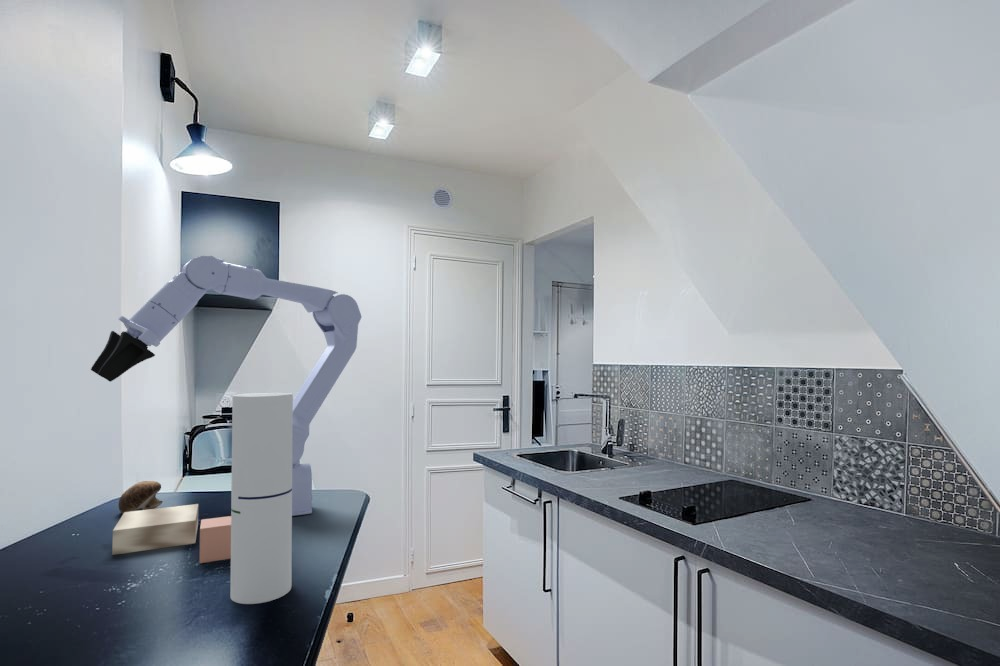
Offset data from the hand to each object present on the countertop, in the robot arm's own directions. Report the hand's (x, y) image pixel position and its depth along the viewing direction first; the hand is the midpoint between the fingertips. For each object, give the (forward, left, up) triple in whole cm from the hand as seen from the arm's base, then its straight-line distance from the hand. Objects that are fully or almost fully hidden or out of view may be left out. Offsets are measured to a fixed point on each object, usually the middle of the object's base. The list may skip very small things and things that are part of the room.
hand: (100, 375), depth 88 cm
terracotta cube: (-17, +13, -27) cm, 35 cm away
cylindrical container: (-22, +30, -27) cm, 46 cm away
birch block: (-8, 0, -27) cm, 29 cm away
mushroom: (-3, -20, -27) cm, 34 cm away
